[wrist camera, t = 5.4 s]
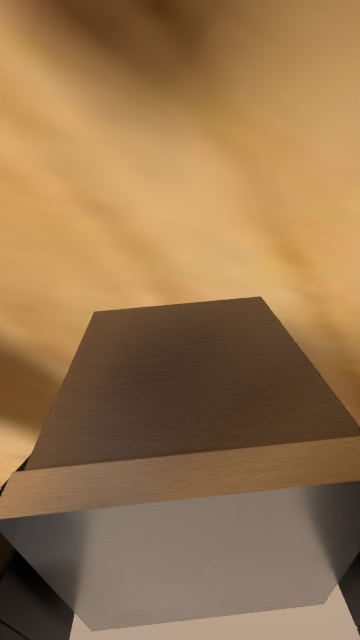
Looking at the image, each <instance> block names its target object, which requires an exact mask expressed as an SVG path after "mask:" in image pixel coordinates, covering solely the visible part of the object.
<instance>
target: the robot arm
mask: <svg viewBox="0 0 360 640" xmlns="http://www.w3.org/2000/svg"><path fill="white" fill-rule="evenodd" d="M30 456H31V455H30ZM30 456H29V457H28V458H27V459H26V460H25V461H24V463H23V464H22V465H21V466H20V467H19V468H18V469H17V470H16V471H15V472H20V471H24V469H25V467H26V465H27V463H28V460H29V458H30ZM8 480H9V479H8ZM8 480H7V481H6V482H5V483H4V485H3V486H2V487H1V490H0V497H1V495H2V493H3V491H4V488H5V486H6V484H7V482H8ZM338 585H339V588H340V590H341V592H342V595H343V597H344V599H345V601H346V604H347V606H348V608H349V611H350V613H351V616H352V618H353V620H354V622H355V625H356V626H357V627H358V628H357V630H358V633H359V635H360V551H359V553H358V554H357V556H356V557H355V559H354V560H353V562H352V563H351V565H350V566H349V567H348V569H347V570H346V572H345V573H344V575H343V576H342V578H341V579H340V581H339V582H338ZM74 613H75V612H74V611H73V610H72V609H71V608H70V607H69V606H68V605H67V604H66V603H65V602H64V601H63V599H62V598H61V597H60V596H59V595H58V594H57V593H56V592H55V591H54V590H53V589H52V588H51V587H50V585H49V584H48V583H47V582H46V581H45V580H44V579H43V578H42V577H41V576H40V575H39V574H38V572H37V571H36V570H35V569H34V568H33V567H32V566H31V565H30V564H29V563H28V562H27V561H26V559H25V558H24V557H23V556H22V555H21V554H20V553H19V552H18V551H17V550H16V549H15V548H14V546H13V545H12V544H11V543H10V542H9V541H8V540H7V539H6V538H5V537H4V536H3V535H2V533H1V532H0V640H69V638H70V632H71V628H72V623H73V618H74Z"/></svg>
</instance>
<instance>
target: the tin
mask: <svg viewBox="0 0 360 640" xmlns="http://www.w3.org/2000/svg"><path fill="white" fill-rule="evenodd" d="M0 532H1V533H2V535H3V536H4V537H5V538H6V539H7V540H8V541H9V542H10V543H11V544H12V545H13V546H14V548H15V549H16V550H17V551H18V552H19V553H20V554H21V555H22V556H23V557H24V558H25V559H26V561H27V562H28V563H29V564H30V565H31V566H32V567H33V568H34V569H35V570H36V571H37V572H38V574H39V575H40V576H41V577H42V578H43V579H44V580H45V581H46V582H47V583H48V584H49V585H50V587H51V588H52V589H53V590H54V591H55V592H56V593H57V594H58V595H59V596H60V597H61V598H62V599H63V601H64V602H65V603H66V604H67V605H68V606H69V607H70V608H71V609H72V610H73V611H74V612H75V614H76V615H77V616H78V617H79V618H80V619H81V620H82V621H83V622H84V623H85V624H86V625H87V626H88V628H89V629H91V631H99V630H107V629H116V628H125V627H133V626H141V625H150V624H159V623H167V622H176V621H184V620H193V619H202V618H210V617H219V616H227V615H236V614H244V613H253V612H261V611H269V610H278V609H287V608H296V607H304V606H313V605H320V604H324V603H325V602H326V600H327V599H328V597H329V596H330V594H331V593H332V591H333V590H334V588H335V587H336V585H337V584H338V582H339V581H340V579H341V578H342V576H343V575H344V573H345V572H346V570H347V569H348V567H349V566H350V565H351V563H352V562H353V560H354V559H355V557H356V556H357V554H358V553H359V551H360V426H359V425H358V424H357V422H356V421H355V420H354V418H353V417H352V416H351V414H350V413H349V412H348V410H347V409H346V408H345V407H344V405H343V404H342V403H341V401H340V400H339V399H338V397H337V396H336V395H335V393H334V392H333V391H332V389H331V388H330V387H329V386H328V384H327V383H326V382H325V380H324V379H323V378H322V376H321V375H320V374H319V372H318V371H317V370H316V368H315V367H314V366H313V364H312V363H311V362H310V361H309V359H308V358H307V357H306V355H305V354H304V353H303V351H302V350H301V349H300V347H299V346H298V345H297V343H296V342H295V341H294V340H293V338H292V337H291V336H290V334H289V333H288V332H287V330H286V329H285V328H284V326H283V325H282V324H281V322H280V321H279V320H278V318H277V317H276V316H275V315H274V313H273V312H272V311H271V309H270V308H269V307H268V305H267V304H266V303H265V301H264V300H263V299H262V297H250V298H239V299H229V300H218V301H207V302H196V303H185V304H174V305H163V306H152V307H141V308H130V309H119V310H108V311H97V312H94V313H93V316H92V318H91V320H90V323H89V325H88V327H87V329H86V332H85V334H84V336H83V338H82V341H81V343H80V345H79V347H78V350H77V352H76V354H75V356H74V359H73V361H72V363H71V365H70V368H69V370H68V372H67V374H66V377H65V379H64V381H63V383H62V386H61V388H60V390H59V393H58V395H57V397H56V399H55V402H54V404H53V406H52V408H51V411H50V413H49V415H48V417H47V420H46V422H45V424H44V426H43V429H42V431H41V433H40V435H39V438H38V440H37V442H36V444H35V447H34V449H33V451H32V453H31V456H30V458H29V460H28V463H27V465H26V467H25V469H24V471H20V472H12V474H11V476H10V478H9V480H8V482H7V484H6V486H5V488H4V491H3V493H2V495H1V497H0Z"/></svg>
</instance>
